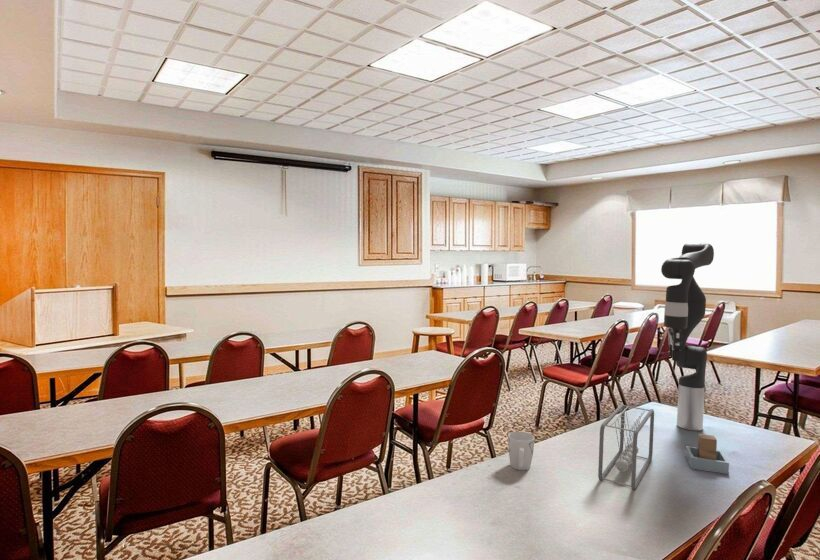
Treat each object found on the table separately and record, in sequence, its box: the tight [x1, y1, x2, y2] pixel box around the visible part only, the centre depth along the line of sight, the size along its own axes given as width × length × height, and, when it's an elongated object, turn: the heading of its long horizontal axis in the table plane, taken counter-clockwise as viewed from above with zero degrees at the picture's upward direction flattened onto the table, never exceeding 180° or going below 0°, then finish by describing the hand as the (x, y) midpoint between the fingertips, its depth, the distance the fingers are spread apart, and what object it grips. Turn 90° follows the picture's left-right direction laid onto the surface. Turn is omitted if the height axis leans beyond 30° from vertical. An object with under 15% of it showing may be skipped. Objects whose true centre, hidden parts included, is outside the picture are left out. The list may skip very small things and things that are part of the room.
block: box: [697, 433, 718, 460], centre depth 163 cm, size 4×4×9 cm
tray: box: [685, 445, 730, 475], centre depth 164 cm, size 11×11×4 cm
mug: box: [507, 431, 535, 471], centre depth 158 cm, size 11×8×10 cm
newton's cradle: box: [597, 403, 655, 490], centre depth 158 cm, size 30×10×18 cm, turn 145°
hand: (673, 358), depth 179 cm, fingers open, 8 cm apart
